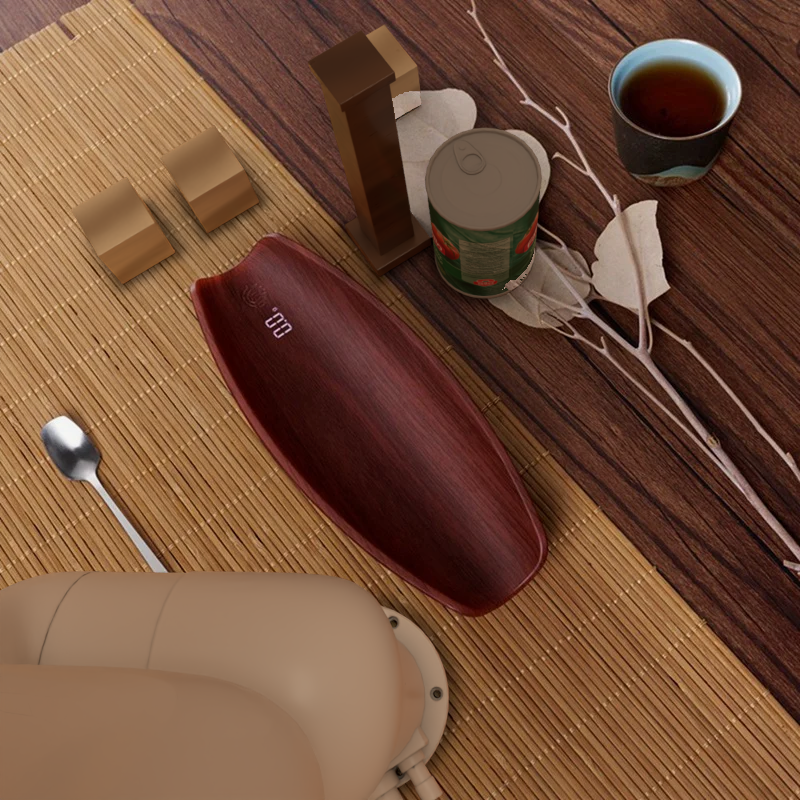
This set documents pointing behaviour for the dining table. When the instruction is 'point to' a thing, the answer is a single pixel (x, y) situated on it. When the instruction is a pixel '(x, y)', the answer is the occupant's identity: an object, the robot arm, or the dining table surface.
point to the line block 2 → (210, 178)
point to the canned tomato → (483, 210)
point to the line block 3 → (396, 61)
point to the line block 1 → (122, 230)
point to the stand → (369, 151)
